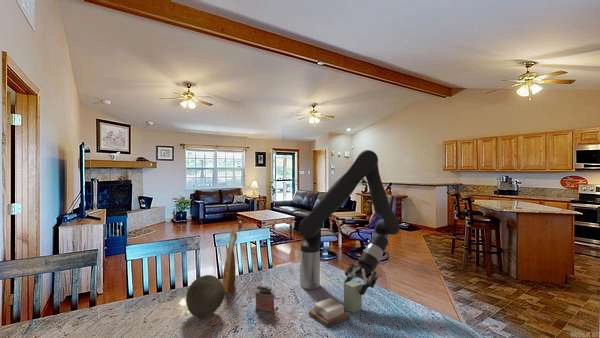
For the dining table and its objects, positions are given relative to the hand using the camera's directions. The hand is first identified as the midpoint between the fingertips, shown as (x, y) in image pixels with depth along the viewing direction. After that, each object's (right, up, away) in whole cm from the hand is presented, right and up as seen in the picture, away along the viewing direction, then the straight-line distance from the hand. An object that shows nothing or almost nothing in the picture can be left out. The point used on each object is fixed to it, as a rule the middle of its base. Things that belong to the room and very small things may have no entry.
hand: (352, 290), depth 116 cm
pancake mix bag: (-55, -8, +22) cm, 60 cm away
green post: (0, -7, 0) cm, 7 cm away
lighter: (-35, -8, -2) cm, 36 cm away
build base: (-10, -7, -6) cm, 14 cm away
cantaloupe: (-58, -8, -5) cm, 59 cm away
